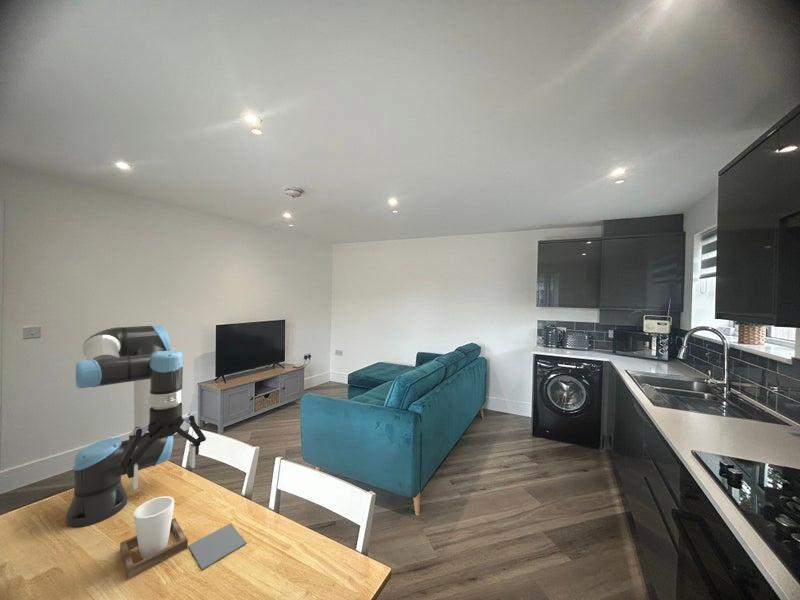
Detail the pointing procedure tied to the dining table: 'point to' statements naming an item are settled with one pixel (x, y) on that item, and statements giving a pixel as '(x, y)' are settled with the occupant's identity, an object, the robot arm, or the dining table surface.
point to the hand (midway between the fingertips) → (165, 476)
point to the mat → (216, 546)
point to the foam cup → (153, 524)
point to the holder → (155, 558)
